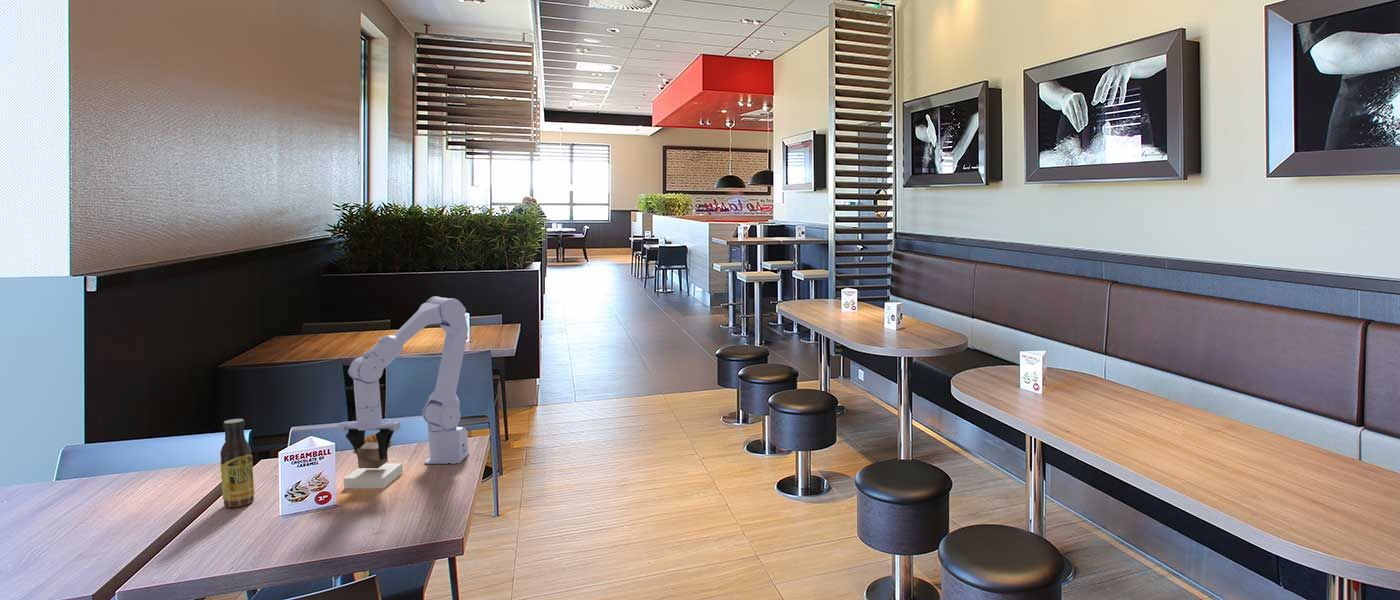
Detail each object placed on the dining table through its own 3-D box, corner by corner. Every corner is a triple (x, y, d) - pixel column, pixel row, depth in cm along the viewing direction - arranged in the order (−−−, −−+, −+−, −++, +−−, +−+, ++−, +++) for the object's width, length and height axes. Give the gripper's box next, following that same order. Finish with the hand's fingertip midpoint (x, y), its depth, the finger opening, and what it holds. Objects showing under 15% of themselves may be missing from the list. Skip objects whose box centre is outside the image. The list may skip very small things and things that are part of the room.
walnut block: (387, 461, 183) (386, 442, 182) (378, 468, 178) (376, 448, 177) (368, 461, 183) (367, 442, 182) (358, 468, 178) (357, 448, 177)
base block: (402, 474, 185) (402, 463, 185) (384, 489, 175) (383, 478, 175) (365, 474, 186) (364, 463, 185) (344, 490, 176) (343, 478, 175)
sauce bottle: (232, 511, 163) (222, 427, 161) (218, 505, 167) (209, 423, 164) (262, 501, 169) (253, 419, 166) (248, 495, 172) (239, 415, 170)
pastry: (359, 454, 201) (358, 440, 201) (351, 448, 206) (350, 435, 206) (393, 446, 208) (392, 433, 207) (385, 441, 212) (384, 428, 212)
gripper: (330, 410, 174) (335, 463, 176) (389, 409, 174) (393, 463, 176) (346, 402, 181) (350, 454, 183) (402, 401, 181) (406, 453, 183)
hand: (372, 458), depth 180 cm, fingers closed on walnut block, 5 cm apart
